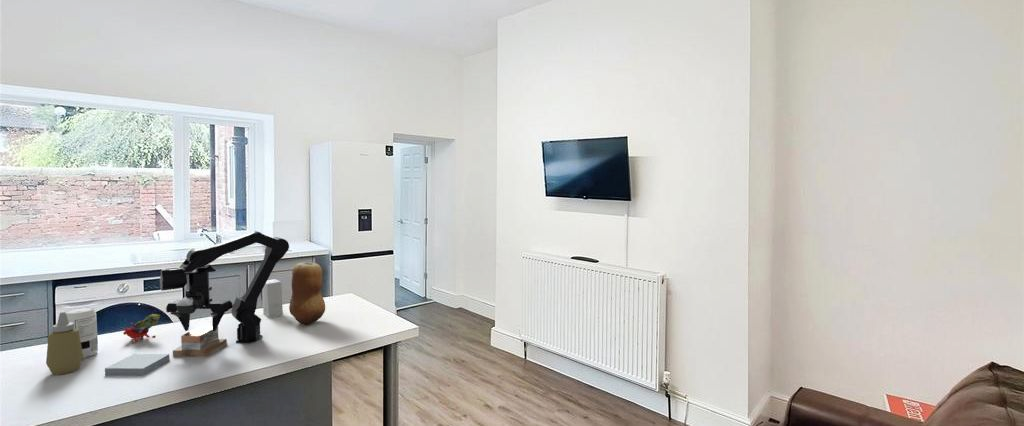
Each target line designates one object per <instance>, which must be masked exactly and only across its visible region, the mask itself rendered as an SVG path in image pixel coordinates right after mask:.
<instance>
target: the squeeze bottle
mask: <svg viewBox="0 0 1024 426" xmlns="http://www.w3.org/2000/svg"><path fill="white" fill-rule="evenodd" d="M51 327H52V329H51V330H52V332H51V333H49V334H48V336H47V346H46V347H47V349H46V358H45V359H46V361H45V364H46V366H47V368H48V370H49V371H50V372H51V374H52V375H64V374H69V373H70V374H71V373H73V372H75V371H77V370H79V369H80V367H81V364H82V361H83V359H84V358H83V352H82V347H81V341H80V336H79V331H78V330H76V329H74V323H73V322H69V321H68V318H67V316H66V313H65V311H61V312H60V313H59V314H58V319H57V323H56V324H54V325H51Z"/></svg>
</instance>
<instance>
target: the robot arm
mask: <svg viewBox="0 0 1024 426" xmlns="http://www.w3.org/2000/svg"><path fill="white" fill-rule="evenodd" d="M254 244H259V245H262V246H265V249H264V257H263V259H262V262H261V264H260V265H259V268H257V271H256V272H255V274H254V276H253V278H252V280H251V282H250V284H249V286H248V288H247V290H246V291H245V293H244V295H242V296H241V297H238V296H236V297H235V299H234V302H232V301H231V300H230V299H228V300H227V299H223V300H222V299H220V300H217V301H215V302H213V298H211V297H210V295H211V294H210V291H212V289H213V288H212V286H210V273H214V272H217V271H216V269H215V268H214V267H213V266H212V265H211V263H213V262H215V261H216V260H217V259H218V258H220V257H221V256H224V255H227V254H230V253H232V252H233V253H234V252H235V251H237V250H240V249H243V248H246V247H249V246H251V245H254ZM289 250H290V244H289V242H288V240H286V239H285V238H281V237H278V236H273V237H272V236H268V235H266V234H263V233H262V232H260V231H257V230H252V231H250V232H248V233H245V234H243V235H240V236H237V237H234V238H231V239H228V240H225V241H222V242H221V243H217V244H213V245H206V246H199V247H196V248H192V249H190V250H189V251H188V252H187V253H186V259H185V260H184V261H183V262H182V263H181V264H180V266H179V268H169V269H168V268H163V269H160V278H159V288H160V290H161V291H162V292H163V291H171V290H179V289H183V288H184V287H186V286H187V284H188V290H186V291H185V296H184V297H182V298H181V299H176V300H173V301H171V302H168V303H167V305H166V307H165V312H166V313H170V315H174V316H175V317H176V318H178V320H179V322H180V324H181V326H182V327H183V330H184V331H185V332H189V329H190V321H191V318H190V317H191V315H192V314H193V313H195V312H196V310H210V313H209V315H210V316H211V317H212V325H211V326H213V331H216V329H217V327H218V328H219V325H220V322H221V320H222V318H223V316H224V314H225V313H227V312H228V311H229V310H231V311H230V312H231V315H232V317H233V318H234V319H235V320H237V321H238V322H239V324H237V328H236V341H235V343H237V344H238V343H241V344H245V343H248V344H249V343H251V344H252V343H256V342H257V341H259V340H260V339H262V338H263V335H262V334H261V321H262V318H261V317H259V316H258V315H256V313H255V312H256V310H257V305H258V299H259V297H260V295H261V293H262V289H263V287H264V286H265V284H266V282H267V280H269V278H270V276H271V274H272V272H273V270H274V268H275V266H276V264H277V263H278V262H279V261H280V260H281V259H282V258H284V256H285V255H286V254H287V252H288V251H289Z"/></svg>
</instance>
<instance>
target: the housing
mask: <svg viewBox="0 0 1024 426" xmlns="http://www.w3.org/2000/svg"><path fill="white" fill-rule="evenodd" d="M219 337H220V336H219V326H218V327H217V329H216V331H213V326H212V325H199V326H197V327H195V328H194V329H192V330H190V331H187V332H185V333H184V334H181V335H180V341H181V342H180V343H181V345H180V346H182V350H201V349H203V348H205V347H206V346H208V345H210V344H211V343H213V342H215V341H217V340H218V339H220V338H219Z"/></svg>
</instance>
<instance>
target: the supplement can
mask: <svg viewBox="0 0 1024 426" xmlns="http://www.w3.org/2000/svg"><path fill="white" fill-rule="evenodd" d="M64 312H65V313H66V316H67V318H68V321H69V322H73V323H74V329H76V330H78V331H79V336H80V341H81V347H82V352H83V359H85V358H89V357H91V356H94V355H95V354H96V353H97V352H99V345H98V343H99V342H98V340H99V339H98V324H97V323H98V322H97V318H98V317H97V312H96V310H94V308H93V307H89V306H88V307H76V308H72V309H68V310H65V311H64Z"/></svg>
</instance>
